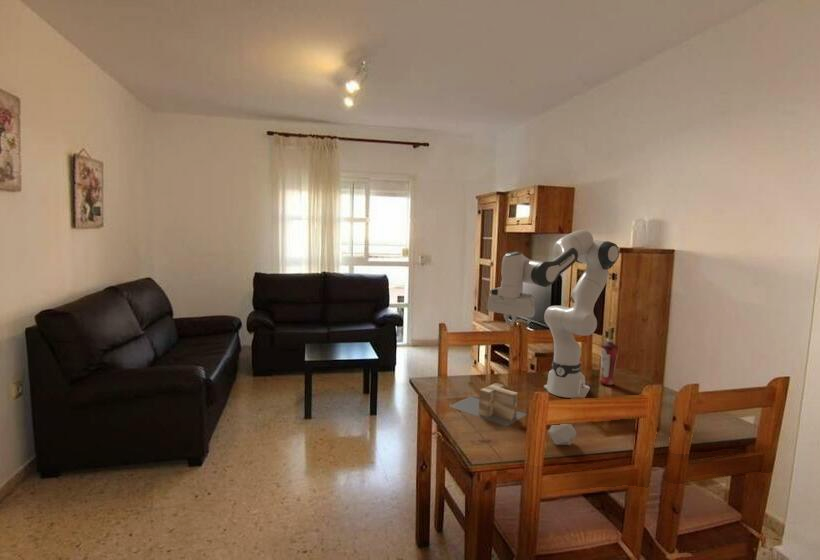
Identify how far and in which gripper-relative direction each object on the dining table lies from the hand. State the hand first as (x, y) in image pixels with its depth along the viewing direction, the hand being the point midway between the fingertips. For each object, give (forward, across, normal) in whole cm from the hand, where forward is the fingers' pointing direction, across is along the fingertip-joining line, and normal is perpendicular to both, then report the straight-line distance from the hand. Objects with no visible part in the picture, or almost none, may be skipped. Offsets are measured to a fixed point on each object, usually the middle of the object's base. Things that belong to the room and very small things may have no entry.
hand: (509, 325), depth 192 cm
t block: (+33, -4, +13) cm, 36 cm away
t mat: (+33, +1, +13) cm, 36 cm away
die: (+34, -32, +18) cm, 50 cm away
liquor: (+35, -21, -59) cm, 71 cm away
